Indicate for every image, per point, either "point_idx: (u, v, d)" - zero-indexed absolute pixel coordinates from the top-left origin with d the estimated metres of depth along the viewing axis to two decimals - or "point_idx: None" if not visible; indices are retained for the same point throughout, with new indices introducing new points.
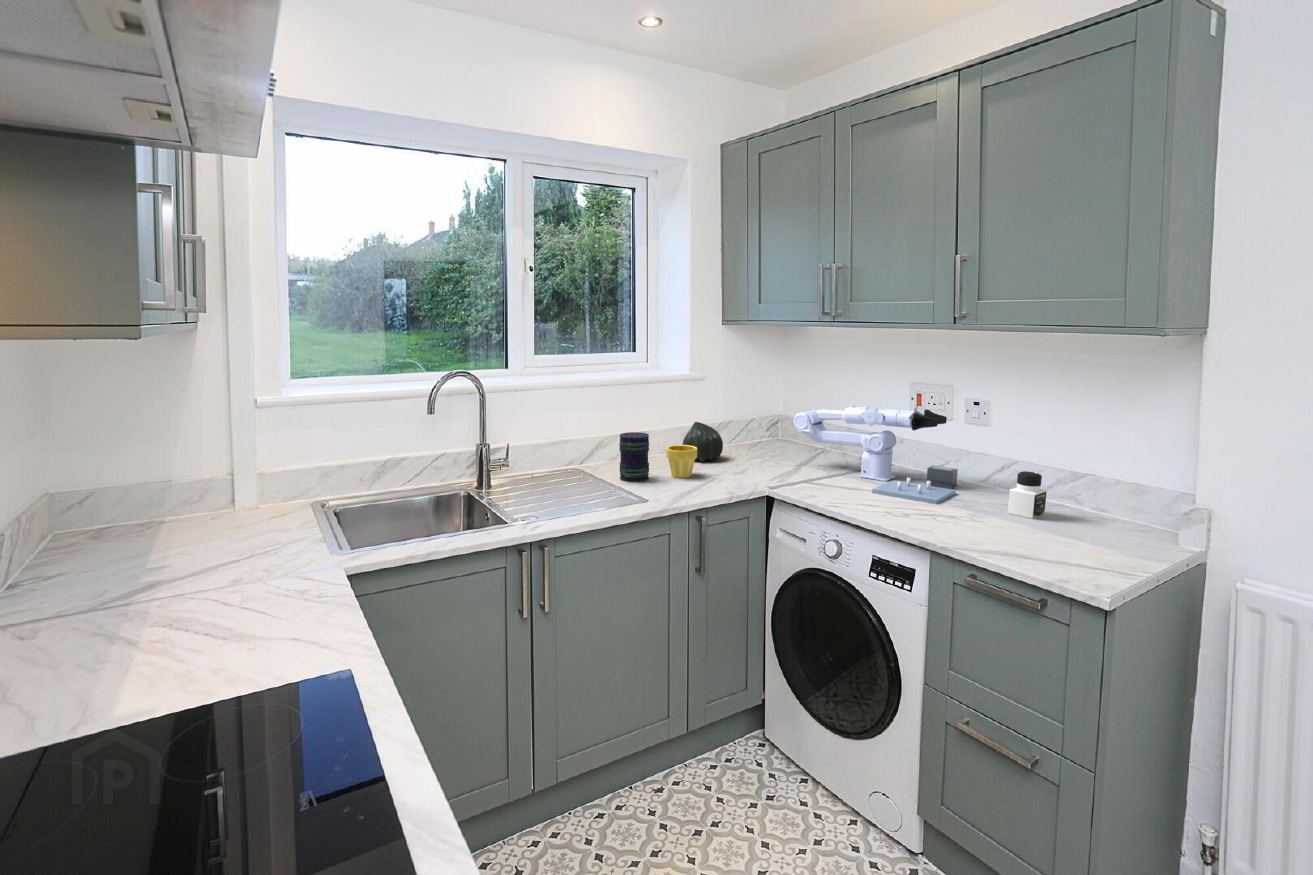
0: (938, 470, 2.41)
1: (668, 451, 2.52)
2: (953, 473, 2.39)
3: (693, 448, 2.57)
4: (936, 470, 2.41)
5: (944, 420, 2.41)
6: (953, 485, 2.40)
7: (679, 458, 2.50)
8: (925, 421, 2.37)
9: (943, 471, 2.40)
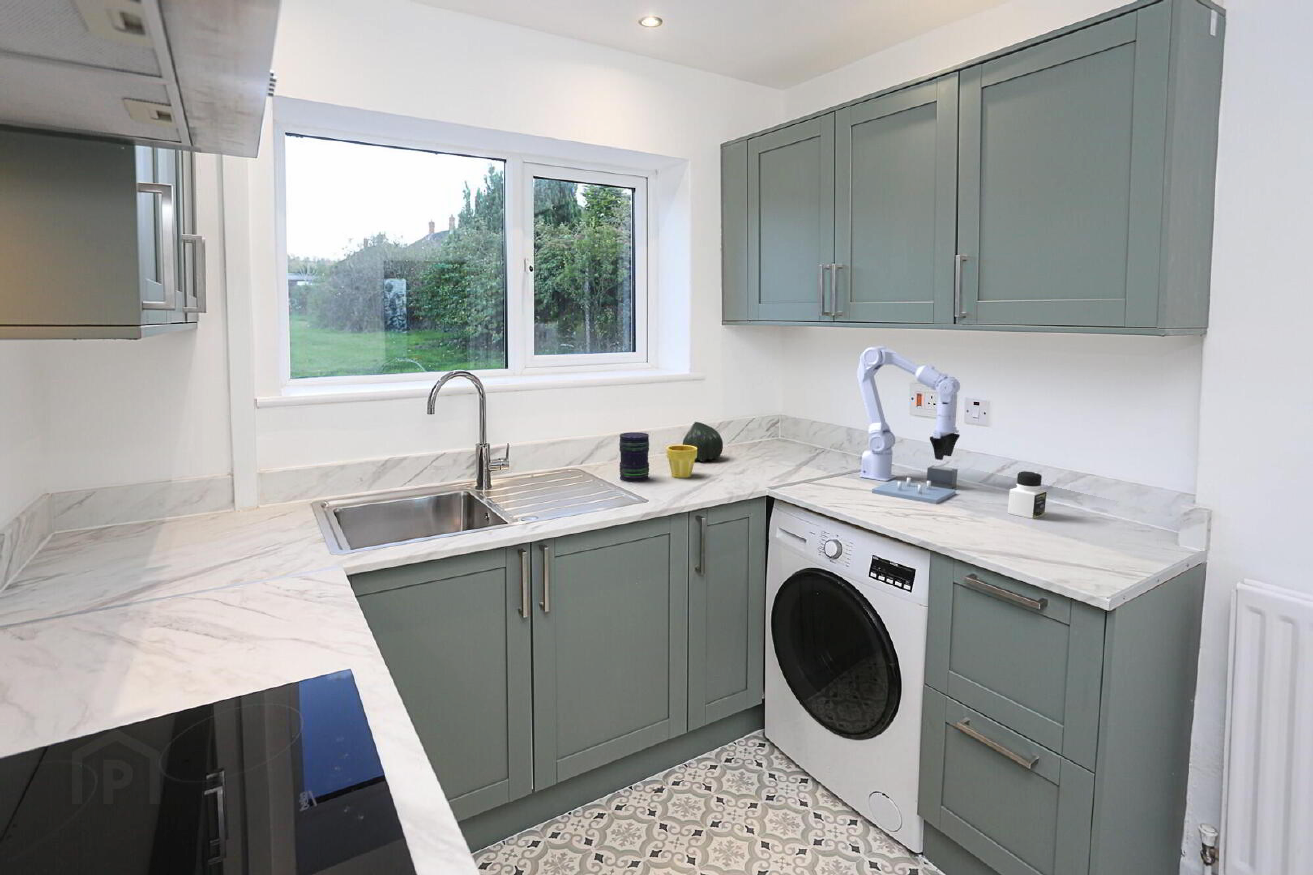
0: (938, 470, 2.41)
1: (668, 451, 2.52)
2: (953, 473, 2.39)
3: (693, 448, 2.57)
4: (936, 470, 2.41)
5: (947, 454, 2.44)
6: (953, 485, 2.40)
7: (679, 458, 2.50)
8: (939, 448, 2.37)
9: (943, 471, 2.40)
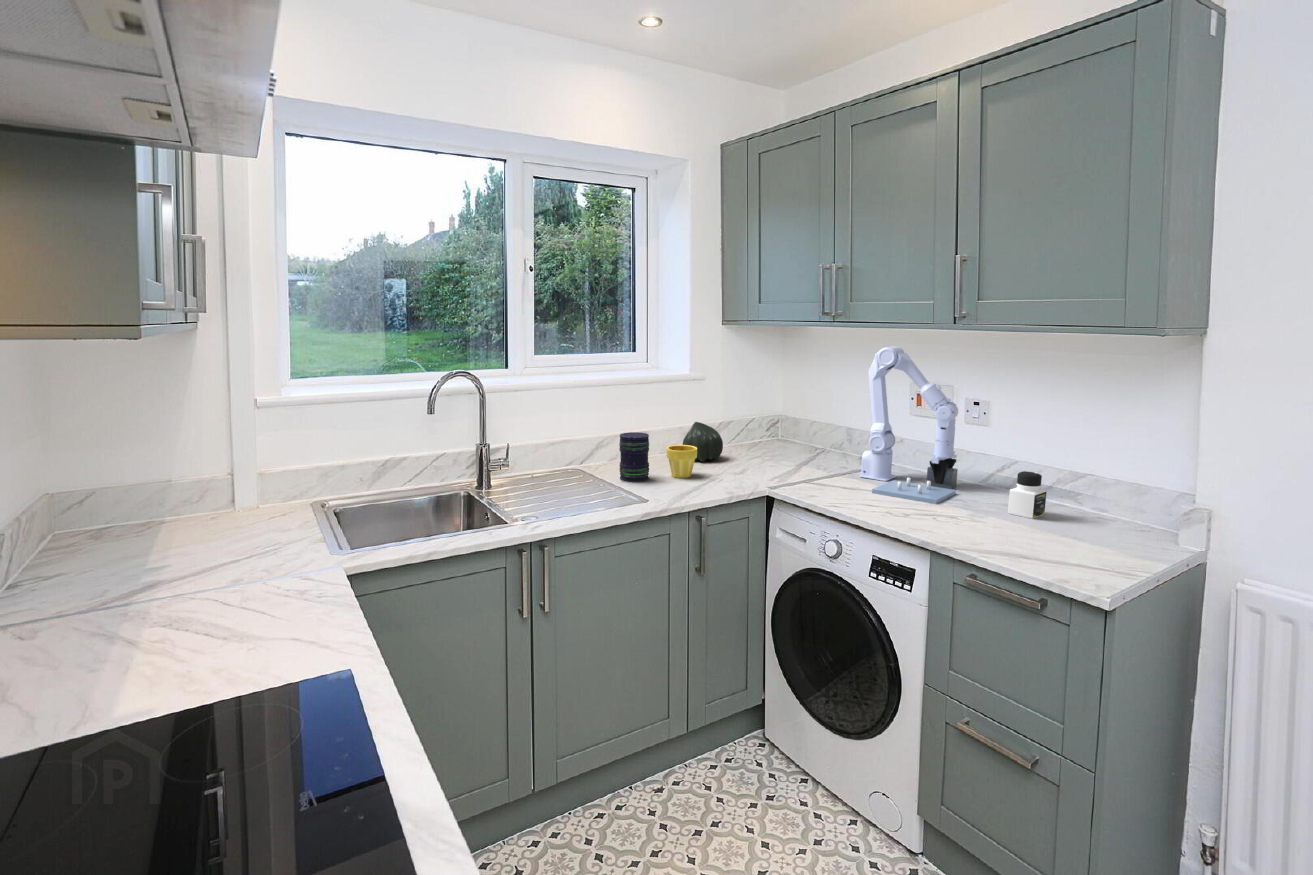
0: None
1: (668, 451, 2.52)
2: (953, 473, 2.39)
3: (693, 448, 2.57)
4: None
5: None
6: (953, 485, 2.40)
7: (679, 458, 2.50)
8: (939, 473, 2.40)
9: None
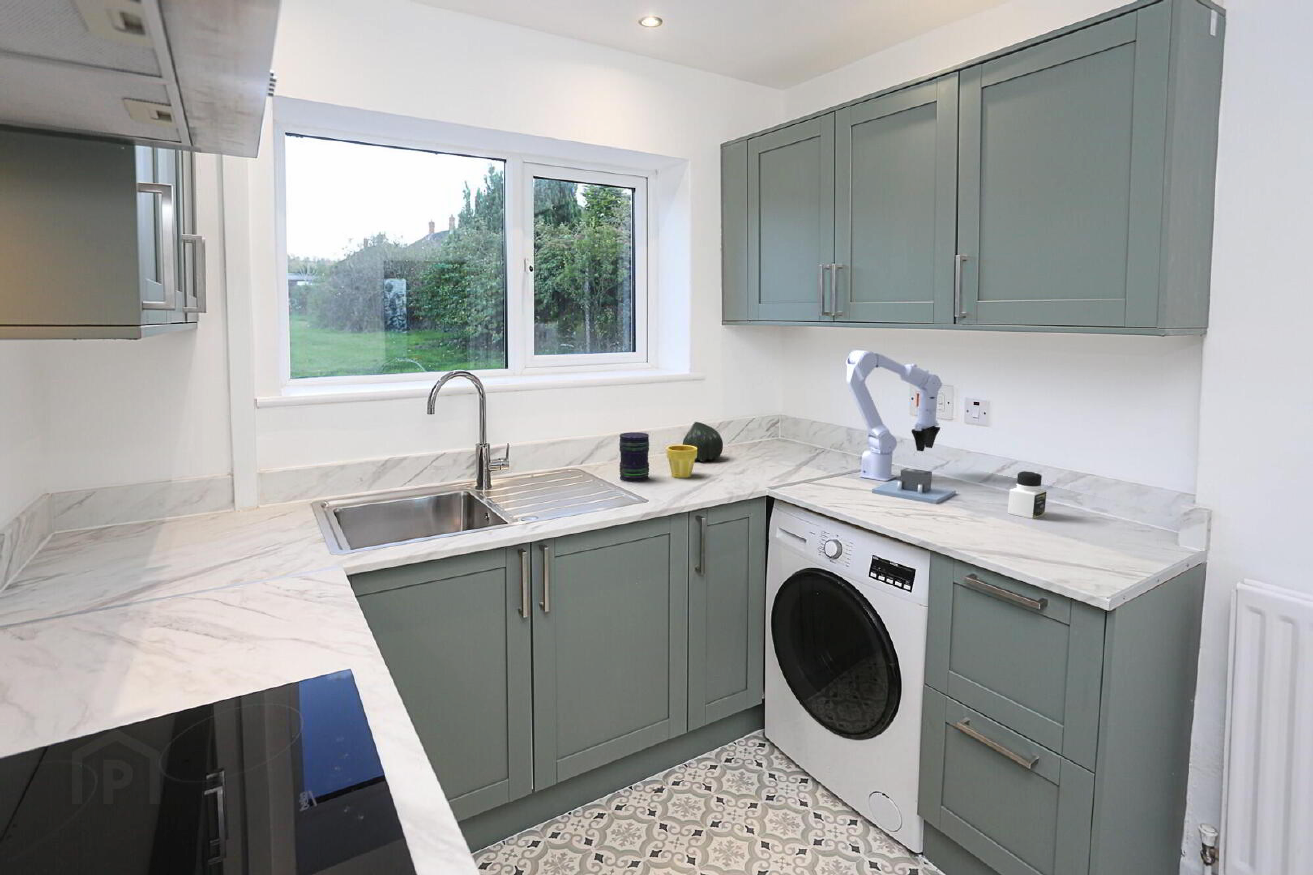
0: (911, 472, 2.31)
1: (668, 451, 2.52)
2: (927, 476, 2.29)
3: (693, 448, 2.57)
4: (909, 472, 2.31)
5: (928, 446, 2.58)
6: (927, 488, 2.30)
7: (679, 458, 2.50)
8: (921, 440, 2.51)
9: (917, 474, 2.30)
